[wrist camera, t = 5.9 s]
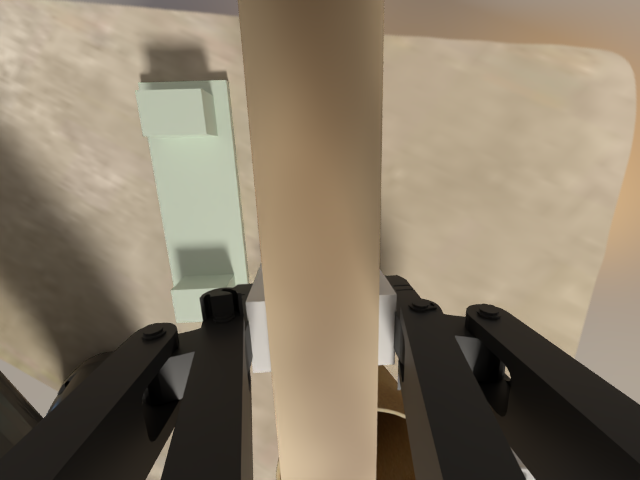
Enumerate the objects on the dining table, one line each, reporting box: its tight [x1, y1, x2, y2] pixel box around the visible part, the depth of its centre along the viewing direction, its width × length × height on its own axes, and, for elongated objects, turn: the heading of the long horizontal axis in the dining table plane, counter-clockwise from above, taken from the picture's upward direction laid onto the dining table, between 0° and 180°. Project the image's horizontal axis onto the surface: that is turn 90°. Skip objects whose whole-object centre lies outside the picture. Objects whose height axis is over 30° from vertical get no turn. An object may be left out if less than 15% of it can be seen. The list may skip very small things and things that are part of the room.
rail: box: [238, 0, 384, 480], centre depth 12 cm, size 4×27×4 cm, turn 2°
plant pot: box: [276, 365, 416, 480], centre depth 35 cm, size 15×15×16 cm
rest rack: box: [135, 80, 249, 323], centre depth 34 cm, size 9×27×5 cm, turn 2°
